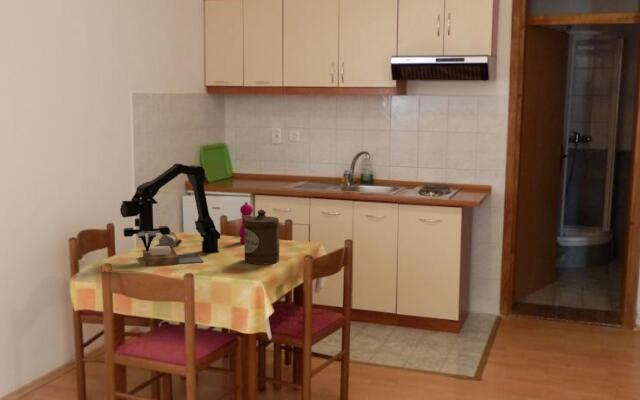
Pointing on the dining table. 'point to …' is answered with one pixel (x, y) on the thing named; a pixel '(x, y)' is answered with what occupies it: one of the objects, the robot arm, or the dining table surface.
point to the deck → (160, 258)
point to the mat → (190, 258)
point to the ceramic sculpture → (169, 240)
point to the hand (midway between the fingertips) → (147, 251)
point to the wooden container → (261, 239)
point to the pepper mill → (246, 213)
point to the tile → (160, 250)
